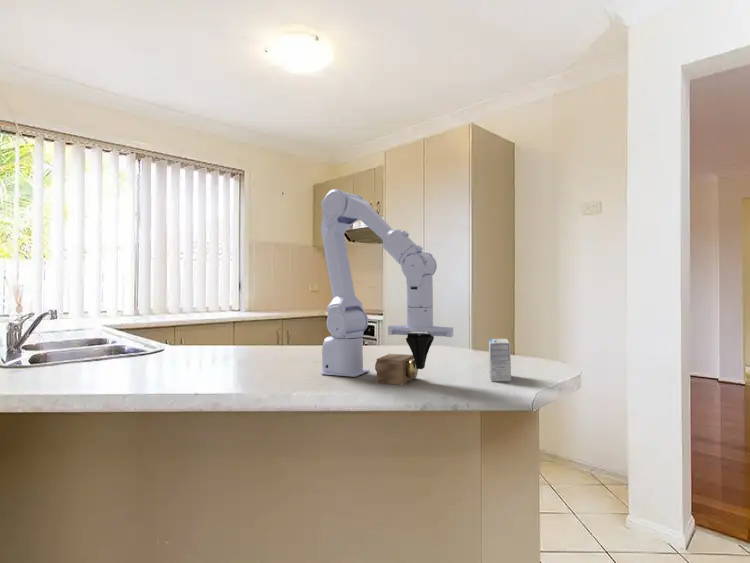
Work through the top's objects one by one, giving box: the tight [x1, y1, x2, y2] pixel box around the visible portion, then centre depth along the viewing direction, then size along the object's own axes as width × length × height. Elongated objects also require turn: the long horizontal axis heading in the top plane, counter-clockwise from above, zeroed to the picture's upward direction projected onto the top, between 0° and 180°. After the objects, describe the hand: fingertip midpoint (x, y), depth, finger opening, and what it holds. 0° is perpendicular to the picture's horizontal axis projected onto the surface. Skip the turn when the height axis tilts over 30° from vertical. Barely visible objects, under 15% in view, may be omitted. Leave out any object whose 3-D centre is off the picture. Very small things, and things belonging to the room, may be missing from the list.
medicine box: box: [488, 338, 512, 383], centre depth 108 cm, size 8×4×9 cm, turn 168°
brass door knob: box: [374, 360, 419, 379], centre depth 107 cm, size 9×4×4 cm, turn 67°
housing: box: [376, 353, 414, 386], centre depth 107 cm, size 6×8×5 cm
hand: (420, 368), depth 105 cm, fingers closed
